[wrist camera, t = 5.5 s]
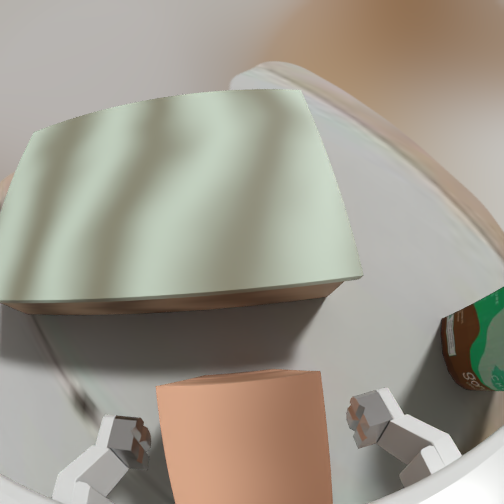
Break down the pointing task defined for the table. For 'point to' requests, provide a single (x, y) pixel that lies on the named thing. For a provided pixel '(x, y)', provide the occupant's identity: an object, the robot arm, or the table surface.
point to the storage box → (176, 209)
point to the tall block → (247, 438)
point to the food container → (476, 344)
